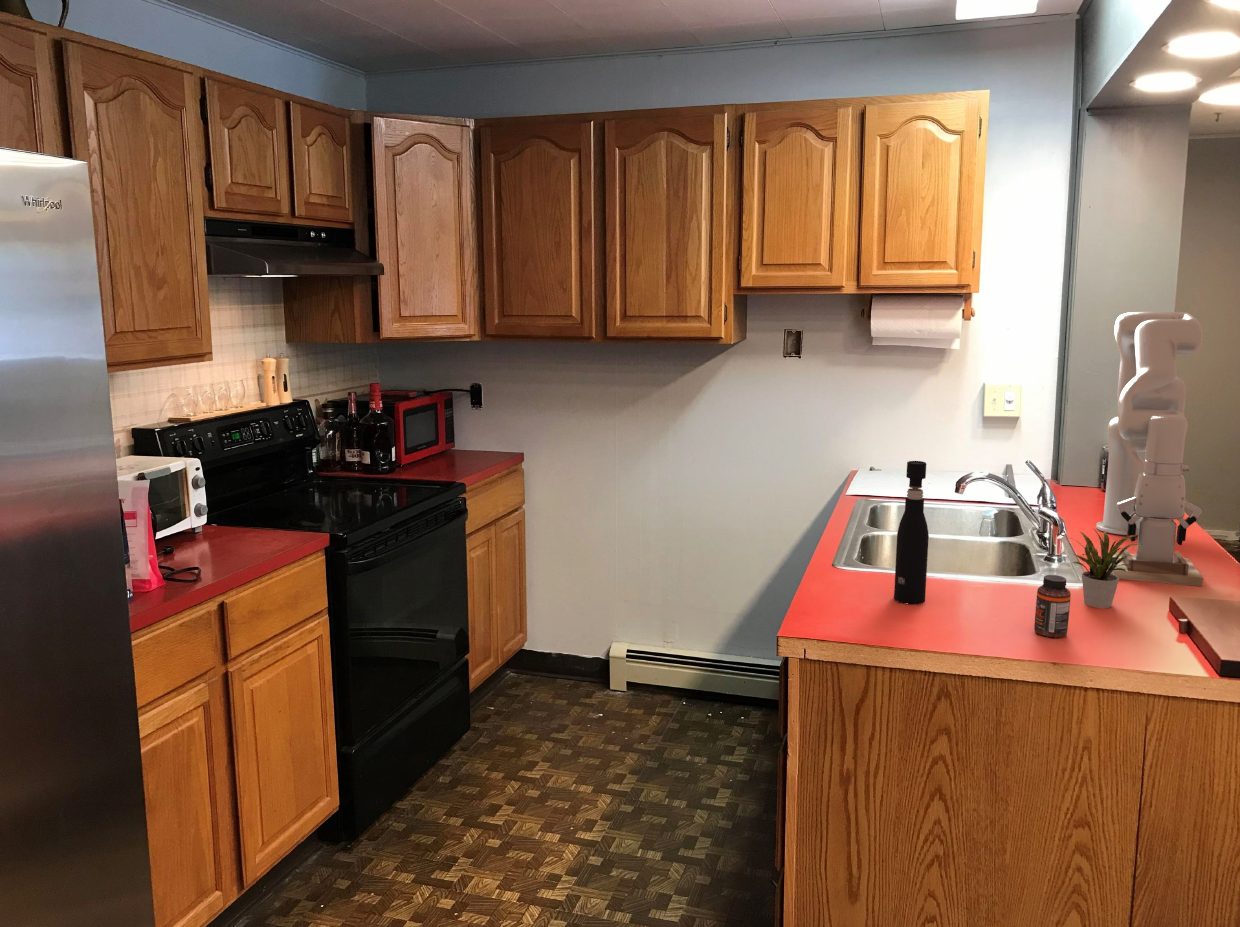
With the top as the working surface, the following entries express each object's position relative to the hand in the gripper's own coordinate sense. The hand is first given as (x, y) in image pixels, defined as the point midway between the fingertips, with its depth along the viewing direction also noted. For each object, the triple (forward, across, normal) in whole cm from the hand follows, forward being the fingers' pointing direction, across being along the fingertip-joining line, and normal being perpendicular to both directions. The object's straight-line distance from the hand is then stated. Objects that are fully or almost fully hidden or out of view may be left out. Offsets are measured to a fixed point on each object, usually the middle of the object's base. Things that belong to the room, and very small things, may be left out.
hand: (1155, 541), depth 224 cm
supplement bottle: (+8, +25, +50) cm, 56 cm away
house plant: (+8, +13, +28) cm, 31 cm away
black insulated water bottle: (+8, +52, +38) cm, 65 cm away
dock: (+8, 0, -2) cm, 8 cm away
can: (+6, 0, 0) cm, 6 cm away
